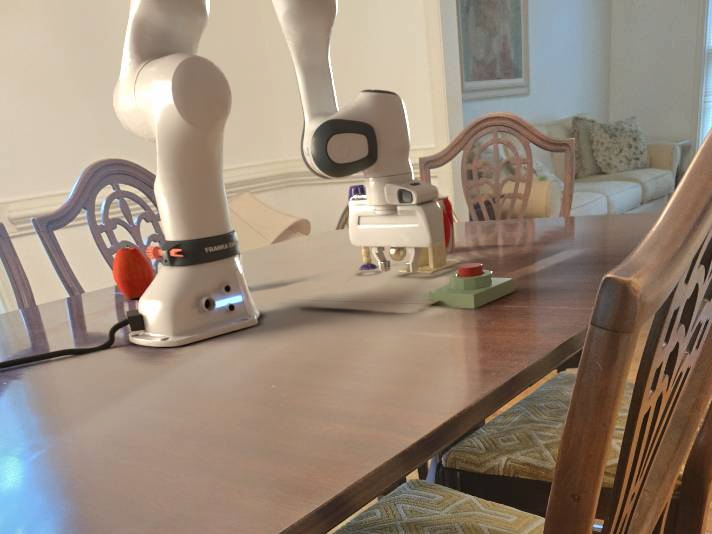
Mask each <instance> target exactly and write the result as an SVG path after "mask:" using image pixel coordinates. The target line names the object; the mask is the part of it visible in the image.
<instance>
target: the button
mask: <svg viewBox="0 0 712 534" xmlns="http://www.w3.org/2000/svg"><path fill="white" fill-rule="evenodd" d="M483 270H484V268H483V264H482V263H481V262H468V263H462V264H459V265H457V272H458V275H459V277H473V276H479V275H482V274H483Z"/></svg>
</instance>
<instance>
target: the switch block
mask: <svg viewBox="0 0 712 534" xmlns="http://www.w3.org/2000/svg"><path fill="white" fill-rule="evenodd" d="M448 279H449V284H446V285H444V286H440V287H439V288H436V289H433V290H430V291H428V292H427V294H428V300H429V301H435V302H433V303H431V304H430V305H429V306H430V307H444V308H461V309H473V310H474V309H477V308H479V307H481V306H483V305H486V304H488V303H491V302H493V301H495V300H498V299H500V298H503V297H504V296H507V295H509V294H511V293H513V292H515V286H514V277H493V271H492V270H489V269H483V274H482V275H479V276H473V277H459V275H458V271H456V272H453V273H451V274H450V275H449V276H448Z"/></svg>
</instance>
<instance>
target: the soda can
mask: <svg viewBox="0 0 712 534" xmlns="http://www.w3.org/2000/svg"><path fill="white" fill-rule="evenodd" d="M434 201H442V208H443V221H444V235H445V248H446V255H449V254H453V253H454V252H455V250H456V249H455V248H456V247H455V246H456V242H455V241H456V240H455V228H454V227H455V225H454V213H453V204H452V203H451V200H450V199H449V195H446V194H444V195H443V194H441V195H438V198H437V199H435V200H434Z"/></svg>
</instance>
